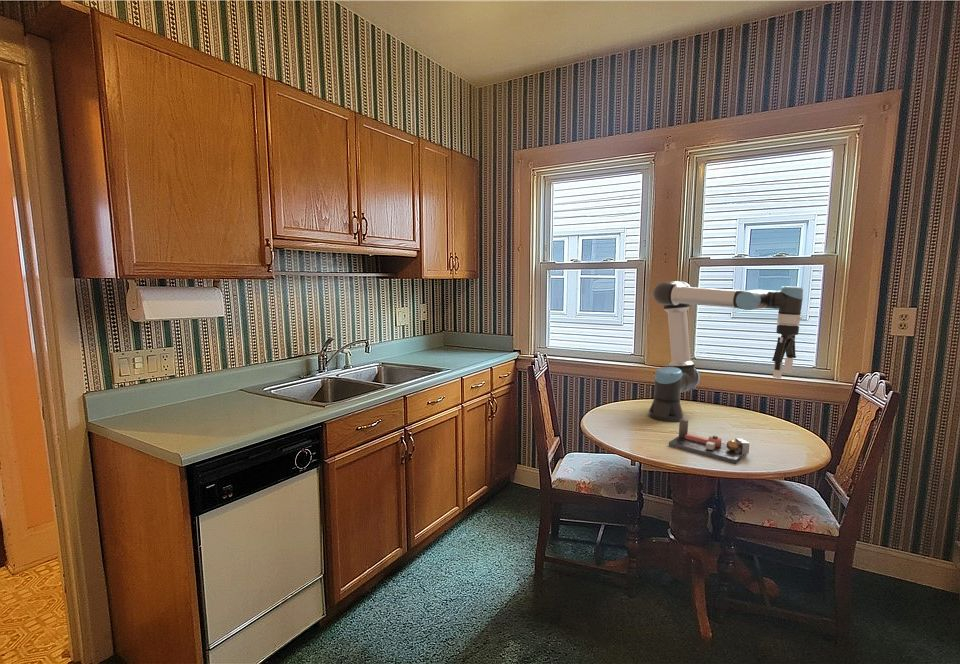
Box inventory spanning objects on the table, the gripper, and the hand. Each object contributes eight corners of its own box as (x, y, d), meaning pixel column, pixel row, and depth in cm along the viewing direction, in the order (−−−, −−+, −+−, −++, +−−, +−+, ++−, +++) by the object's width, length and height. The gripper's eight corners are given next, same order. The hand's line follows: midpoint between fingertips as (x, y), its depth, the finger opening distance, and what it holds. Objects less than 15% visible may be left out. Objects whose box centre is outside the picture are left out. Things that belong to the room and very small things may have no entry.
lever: (672, 439, 180) (673, 422, 179) (680, 434, 186) (682, 417, 185) (715, 451, 169) (716, 432, 168) (722, 444, 175) (723, 427, 174)
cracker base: (668, 446, 179) (669, 432, 178) (682, 437, 188) (683, 424, 188) (740, 465, 161) (741, 450, 160) (751, 454, 171) (752, 440, 170)
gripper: (789, 327, 173) (783, 381, 176) (807, 323, 189) (802, 372, 192) (767, 325, 179) (761, 377, 182) (787, 321, 195) (781, 369, 198)
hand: (782, 375), depth 187 cm, fingers open, 13 cm apart
